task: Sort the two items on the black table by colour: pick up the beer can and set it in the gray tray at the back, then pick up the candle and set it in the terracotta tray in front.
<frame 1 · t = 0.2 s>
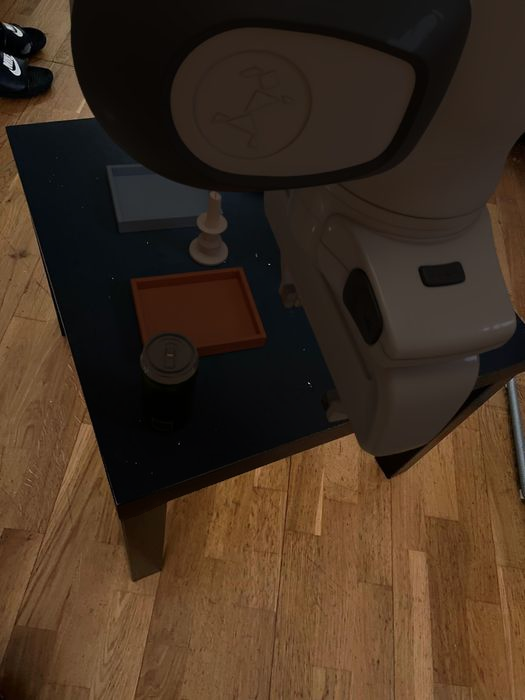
hand: (311, 352, 38), 23 cm above the table, tool pointing down, fingers open, 8 cm apart
teapot: (365, 261, 77), on the table
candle: (208, 253, 73), on the table
beer can: (167, 413, 59), on the table
terracotta tray: (196, 317, 66), on the table
gray tray: (164, 200, 77), on the table
ceramic pot: (268, 163, 85), on the table
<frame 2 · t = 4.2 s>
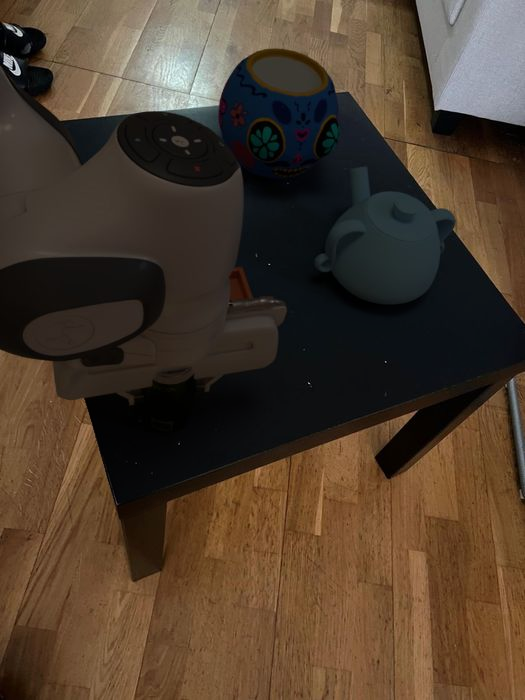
hand: (167, 392, 55), 5 cm above the table, tool pointing down, fingers closed on beer can, 5 cm apart
beer can: (167, 413, 59), on the table, touching gripper
everything else where it was.
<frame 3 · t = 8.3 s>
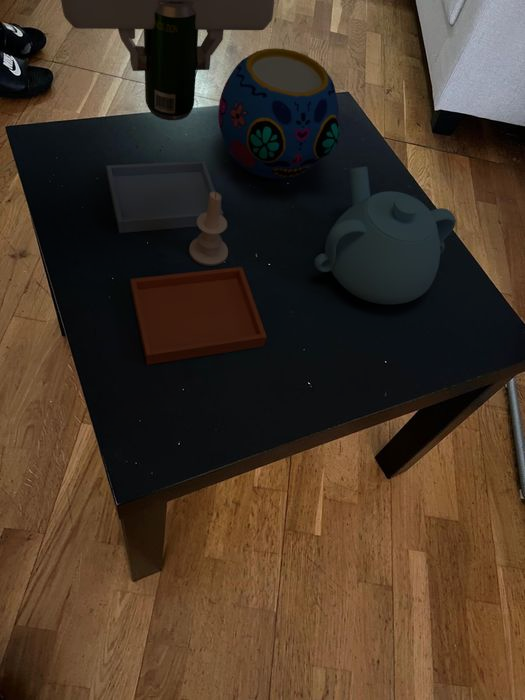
hand: (170, 67, 57), 22 cm above the table, tool pointing down, fingers closed on beer can, 5 cm apart
beer can: (169, 109, 61), point 17 cm above the table, touching gripper
everything else where it was.
when the fingers open (5 cm above the table, at t = 12.7 s): beer can stays where it is, resting on gray tray.
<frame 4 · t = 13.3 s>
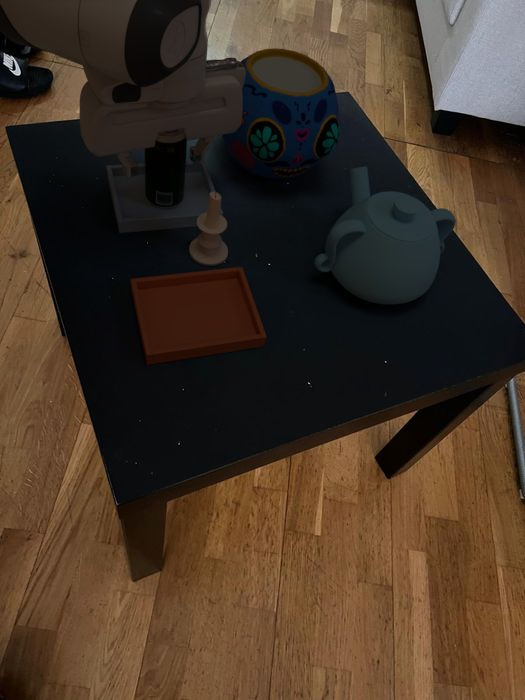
hand: (164, 167, 72), 6 cm above the table, tool pointing down, fingers open, 8 cm apart
beer can: (164, 199, 76), resting on gray tray
everything else where it was.
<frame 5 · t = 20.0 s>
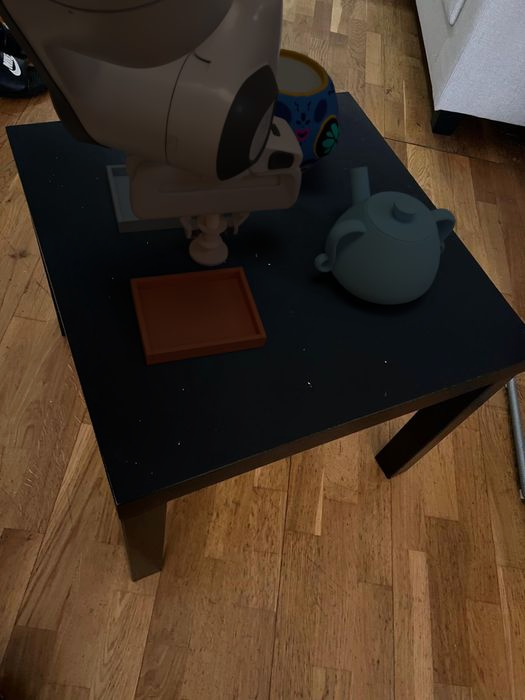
hand: (211, 233, 70), 4 cm above the table, tool pointing down, fingers closed on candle, 4 cm apart
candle: (208, 253, 73), on the table, touching gripper
everything else where it was.
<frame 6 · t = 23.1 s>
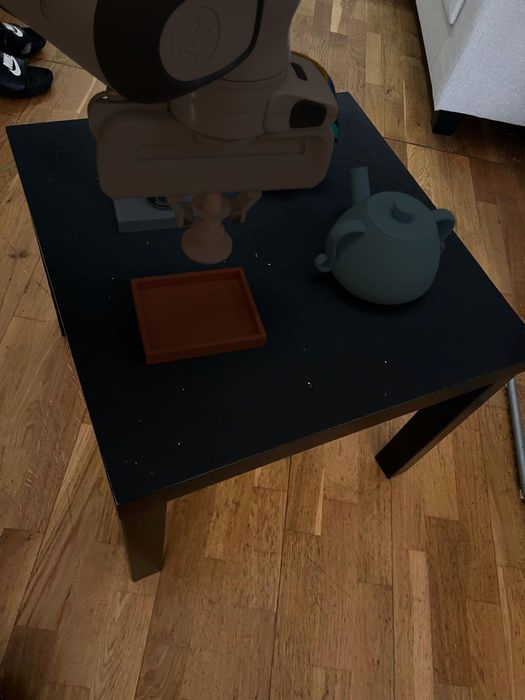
hand: (210, 220, 53), 17 cm above the table, tool pointing down, fingers closed on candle, 4 cm apart
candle: (206, 247, 56), point 13 cm above the table, touching gripper
everything else where it was.
when the fingers open (4 cm above the table, at t = 26.3 s): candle stays where it is, resting on terracotta tray.
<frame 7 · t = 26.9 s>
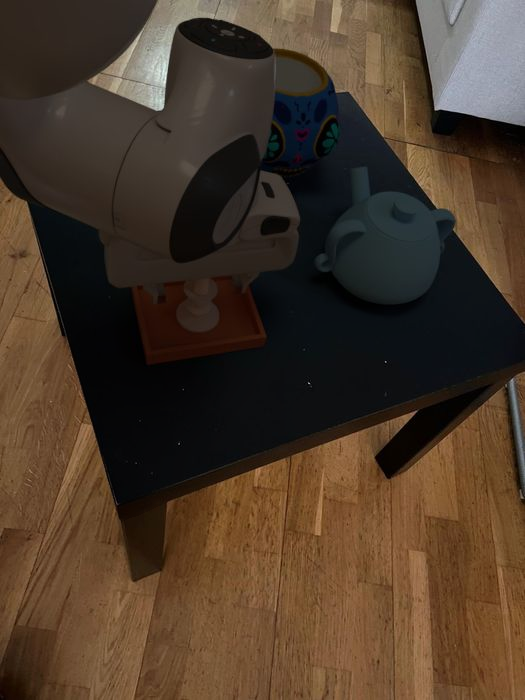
hand: (198, 294, 63), 4 cm above the table, tool pointing down, fingers open, 8 cm apart
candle: (197, 317, 66), resting on terracotta tray
everything else where it was.
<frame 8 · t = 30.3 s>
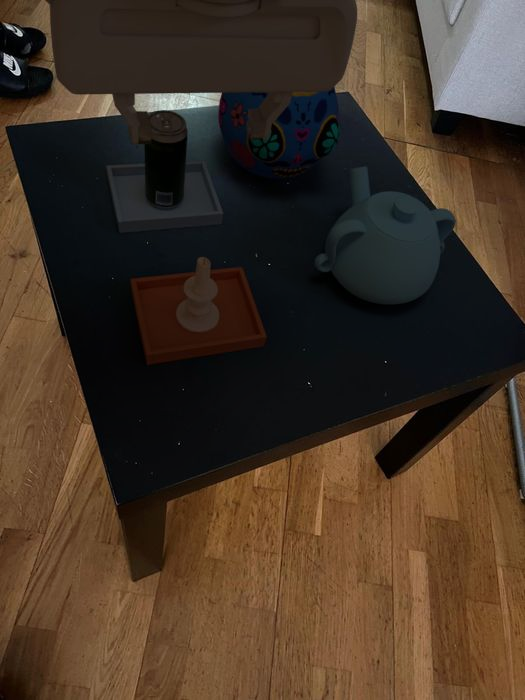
hand: (200, 137, 42), 27 cm above the table, tool pointing down, fingers open, 8 cm apart
nothing on the table moved.
at the end: beer can inside the target area in the gray tray (0.1 cm from its centre), point 0.4 cm above the gray tray's base; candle inside the target area in the terracotta tray (0.2 cm from its centre), point 0.4 cm above the terracotta tray's base; beer can tilted 0° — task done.
